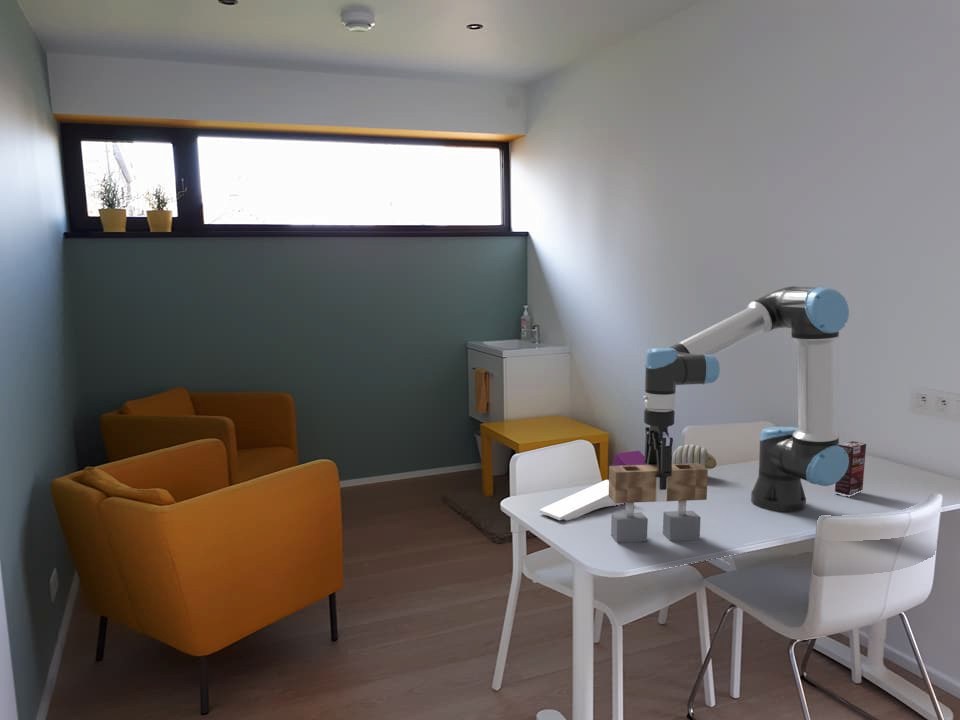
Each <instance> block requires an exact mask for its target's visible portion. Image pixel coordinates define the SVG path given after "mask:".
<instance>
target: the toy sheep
mask: <svg viewBox="0 0 960 720" xmlns="http://www.w3.org/2000/svg"><path fill="white" fill-rule="evenodd" d="M688 463H699V464H700V465H702V466H703V467H705V468H706V469H708V470H711V469H714V468H715V467H717V460H716V459H715V457H714V456H713V455H712V454H710V453H709V452H708V450H707V448H706V447H701V445H695V444H693V443H692V444H690V445H689V444H685V445H684V446H683V445H679V446H678V447H677V448H676V449H675V450H674V451H673V452H672V464H688Z"/></svg>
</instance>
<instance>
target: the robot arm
mask: <svg viewBox="0 0 960 720" xmlns="http://www.w3.org/2000/svg"><path fill="white" fill-rule="evenodd" d="M849 316H850V309H849V305H848V301H847V300H846V298H845V296H844V295H843V294H841V293H840V291H838V290H836V289H833V288H828V287H825V286H793V285H792V286H786V287H783V288H779V289H776V290H774V291H772V292H770V293H767V294H765V295H763V296H761V297H758V298H757V299H755V300H753V301H751V302H750V303H748V305H747V306H746V308H745V309H743V310H741V311H739V312H738V313H735V314H733V315H732V316H729V317H727V318H725V319H723V320H722V321H719V322H717V323H715V324H713V325H711V326H709V327H708V328H706V329H704V330H701V331H699V332H698V333H695V334H694V335H691V336H690V337H687V338H686V339H683V340H682V341H680V342H678V343H676V344H673V345H671V346H670V347H669V346H668V347H652V348H649V349H648V350H647V351H646V356H645V365H644V368H645V373H644V374H645V381H644V385H645V386H644V388H645V389H644V390H645V391H644V396H643V397H642V399H643V400H644V407H645V409H644V411H643V423H644V424H645V425H648V426H646V427H645V429H644V431H645V442H644V457H645V458H644V463H645V464H647V465H656V464H657V469H658V475H655V477H656V499H655V501H656V502H655V503H657V502H658V503H659V502H663V503H664V502H668V501H667V481H668V477H669V476H672V464H673V461H672V455H673V443H674V442H673V441H674V440H673V437H670V435H669V429H668V428H669V427H671V426H673V425H674V424H675V418H676V417H675V415H676V414H675V410H674V409H675V408H676V388H677V386H681V385H682V386H684V385H685V386H686V385H687V386H688V385H705V384H712V383H715V382H716V381H717V380H718V378H719V377H720V372H721V371H720V368H721V366H720V362H719V360H718V358H717V357H716V355H717V354H720V353H721V352H723V351H725V350H727V349H730V348H732V347H733V346H735V345H737V344H739V343H741V342H744V341H745V340H747V339H749V338H751V337H753V336H755V335H757V334H759V333H763V334H766V333H769V332H771V331H773V330H777V329H785V328H786V329H787V328H789V329H791V339H792V340H793V341H794V342H795V343H796V344H797V409H798V413H797V416H798V420H797V421H798V423H797V425H798V426H797V427H795V426H772V427H770V426H769V427H766V428H763V429H762V430H761V433H760V439H759V458H758V459H759V460H758V475H757V476H758V477H757V478H756V481H755V483H754V486H753V489H752V491H751V496H750V501H751V502H752V504H754V505H755V506H757V507H760V508H763V509H766V510H767V509H768V510H771V511H777V512H798V511H802V510H804V509H806V508H807V507H806V506H807V498H806V495H805V491H804V487H803V484H802V480H804V481H805V482H808V483H811V484H813V485H818V486H821V487H829V486H832V485H836V483H837V482H838V481H839V480H840V479H841V477H842V476H844V474H845V473H846V471H847V468H848V464H849V457H848V454H847V452H845V450H844V449H843V448H841V447H840V446H839V444H840V437H839V434H838V433H837V432H836V431H835V430H834V427H833V426H834V425H833V424H834V422H833V421H834V420H833V419H834V417H833V416H834V415H833V413H834V411H833V410H834V407H833V406H834V404H833V403H834V402H833V401H834V400H833V387H834V386H833V382H834V381H833V378H834V377H833V376H834V374H833V370H834V369H833V362H834V361H833V359H834V358H833V355H834V354H833V344H834V342H836V340H838V338H839V336H840V335H839V334H840V331H841V330H843V328H845V326H846V323H847V322H848V320H849V318H850V317H849Z"/></svg>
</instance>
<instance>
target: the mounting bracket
mask: <svg viewBox="0 0 960 720" xmlns="http://www.w3.org/2000/svg"><path fill="white" fill-rule="evenodd" d="M644 458H645V454H643V453H642V452H641V450H633V451H626V452H618V453H615V456H614V459H613V461H612V464H611V466H625V465H647V464H645V463H644Z"/></svg>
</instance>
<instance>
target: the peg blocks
mask: <svg viewBox="0 0 960 720" xmlns="http://www.w3.org/2000/svg"><path fill="white" fill-rule="evenodd" d="M677 504H678V506H677V510H675V511H674V510H673V511H672V510H671V511H663V514H662V515H663V519H662V535H664V536H665V537H666V538H667V539H668V540H669V541H670V540H674V541H693V540H695V541H697V540H700V539H701V538H700V537H701V516H700V515H699V514H697V513H696V512H695V511H694V510H687V501H677ZM634 505H635V503H625V512H613V513H611V524H610V525H611V527H610V536H611V537H612V539H613V540H614V541H615V543H616V542H618V543H619V542H621V543H640V542H641V543H642V541H644V542H645V541H647V542H648V528H649V527H648V525H649V523H648V521H649V520H648V517H647V516H646V515H645V514H643V512H634V511H635V510H634V508H635V506H634ZM644 542H643V543H644Z"/></svg>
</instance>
